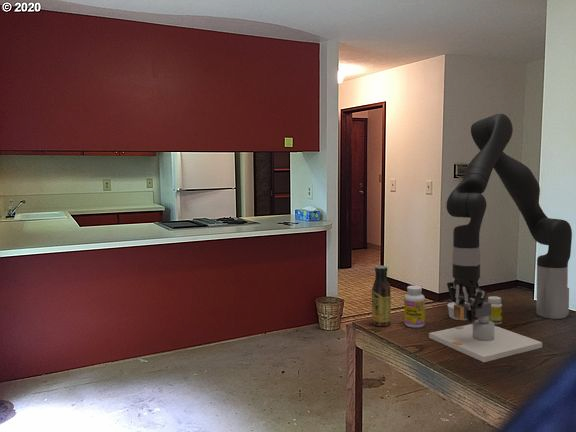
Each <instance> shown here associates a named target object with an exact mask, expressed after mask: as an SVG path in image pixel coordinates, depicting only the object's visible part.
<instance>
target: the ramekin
mask: <svg viewBox="0 0 576 432" xmlns="http://www.w3.org/2000/svg"><path fill="white" fill-rule="evenodd" d="M466 303H467V302H466V301H465V304H466ZM454 305H456V304H455V303H454V302H452V301H451V302H449V303H447V309H448V316H449V318H451V319H452V320H456V321H461V320H460V319H457V318H455V317H454ZM462 321H467V319H463V320H462Z"/></svg>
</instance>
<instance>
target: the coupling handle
mask: <svg viewBox="0 0 576 432" xmlns="http://www.w3.org/2000/svg"><path fill="white" fill-rule="evenodd" d="M471 305H473V304H472V302H471ZM467 310H468V307H467V303H466V304H456V305H454V317H455V318H457V319H460V320H459V321H464V320H463V319H467ZM490 315H491V303H488V301H485V300H484V303H483V306H482V308H481V309H476V318H477V320H478V322H479V323H489V316H490Z"/></svg>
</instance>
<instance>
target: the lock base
mask: <svg viewBox="0 0 576 432" xmlns="http://www.w3.org/2000/svg"><path fill="white" fill-rule="evenodd" d="M428 338H429V339H431V340H434V341H435V342H437V343H441V344H442V345H444V346H446V347H449V348H450V349H451V348H452V349H453V350H455V351H458V352H460V353H462V354H464V355H466V356H469V357H471V358H473V359H476V360H478V361H480V362H482V363H486V362H487V363H488V362H490V361H495V360H499V359H502V358H506V357H510V356H515V355H517V354H518V355H519V354H523V353H526V352H530V351H534V350H537V349H542V348H543V342H542V341H539V340H536V339H534V338H530V337H528V336H525V335H523V334H519V333H517V332H514V331H511V330H508V329H505V328H502V327H500V326H496V325H495V324H494V322H492V321H489V323H479V322H478V319H475V321H474V322H472V323H469V324H466V325H459V326H455V327H452V328H446V329H443V330H441V329H440V330H438V331H437V330H436V331H432V332H428Z"/></svg>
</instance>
